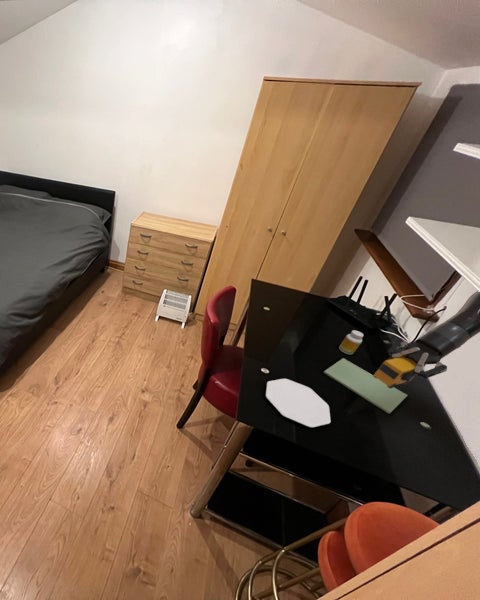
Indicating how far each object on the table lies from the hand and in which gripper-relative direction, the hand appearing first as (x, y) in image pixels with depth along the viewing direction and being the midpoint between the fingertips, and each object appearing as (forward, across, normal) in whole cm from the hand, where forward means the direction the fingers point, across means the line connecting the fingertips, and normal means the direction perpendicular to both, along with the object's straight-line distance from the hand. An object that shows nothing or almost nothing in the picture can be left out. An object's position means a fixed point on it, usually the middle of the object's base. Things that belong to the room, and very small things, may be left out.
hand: (393, 372), depth 104 cm
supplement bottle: (-4, -25, +30) cm, 39 cm away
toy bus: (+2, 0, +4) cm, 5 cm away
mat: (+4, -8, +21) cm, 23 cm away
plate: (+29, -7, -4) cm, 30 cm away
